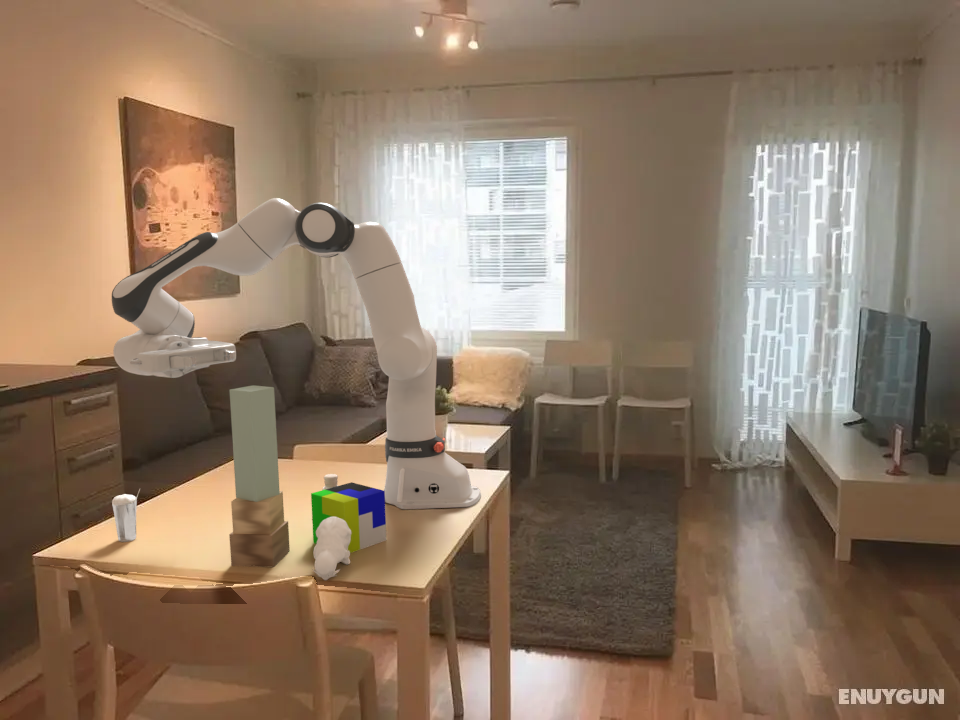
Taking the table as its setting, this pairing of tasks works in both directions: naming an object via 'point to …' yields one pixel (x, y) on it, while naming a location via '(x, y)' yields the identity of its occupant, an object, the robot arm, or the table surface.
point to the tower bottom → (259, 548)
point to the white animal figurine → (331, 546)
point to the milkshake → (125, 516)
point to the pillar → (254, 442)
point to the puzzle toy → (352, 512)
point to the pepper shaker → (330, 481)
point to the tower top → (257, 515)
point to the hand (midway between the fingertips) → (213, 358)
